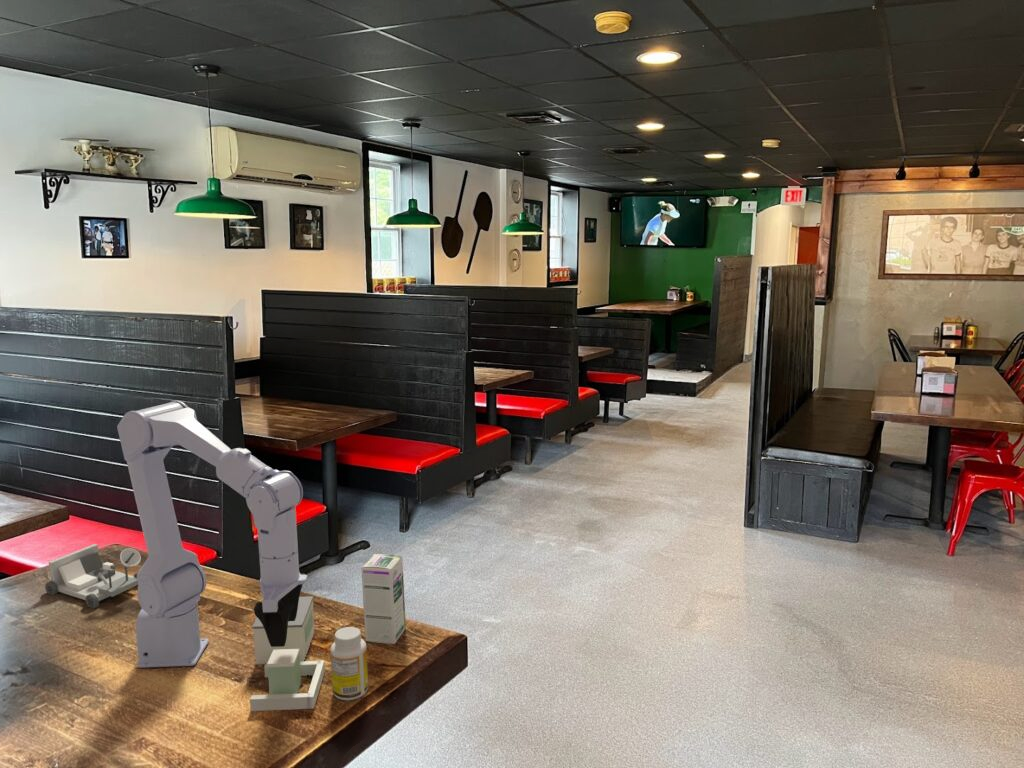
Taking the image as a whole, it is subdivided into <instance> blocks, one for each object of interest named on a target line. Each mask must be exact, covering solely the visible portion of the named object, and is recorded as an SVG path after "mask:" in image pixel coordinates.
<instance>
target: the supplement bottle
mask: <svg viewBox="0 0 1024 768" xmlns="http://www.w3.org/2000/svg"><path fill="white" fill-rule="evenodd" d="M361 635H362V633H361V630H360V629H359V628H357V627H354V626H346V627H342V628H339V629H338V630H336V632H335V633H334V642H333V643H331V645H330V666H331V685H332V686H331V687H332V693H333V695H334V697H335V698H337V699H339V700H342V701H354V700H357V699H360V698H361V697H363V696H364V695H365V694H366V693H367V691H368V688H369V676H368V675H369V673H368V672H369V671H368V656H367V655H368V653H367V652H368V651H367V643H366V640H364V639H363V638H362V636H361Z"/></svg>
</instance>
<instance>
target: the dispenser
mask: <svg viewBox="0 0 1024 768" xmlns="http://www.w3.org/2000/svg"><path fill="white" fill-rule="evenodd" d="M314 617H315V616H314V596H299V603H298V610H297V615H296V619H295V621H288V629H287V638H286V643H285V646H281V647H271V646H270V643H269V641H268V638H267V635H266V632H265V629H264V627H263V625H262V623H261V621H260V620H259V619H258V617H257V616H256V618H255V620H254V623H253V624H252V626H251V627H252V628H251V629H252V630H253V644H254V659H255V665H265V663H268V661H269V658H270V656H271V654H272V652H273V650H278V649H300V653H299V656H300V662H302V661H304V660H305V661H306V658H305V657H307V655H308V651H309V648H310V647H311V644H310V643H312V641H313V637H314V635H315V618H314ZM306 654H307V655H306Z"/></svg>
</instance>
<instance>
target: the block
mask: <svg viewBox="0 0 1024 768" xmlns="http://www.w3.org/2000/svg"><path fill="white" fill-rule="evenodd" d="M299 653H300V649H278V650H273V652H272V654H271V656H270V658H269V661H268V663H267V667H268V677H267V678H268V690H269V691H268V692H269V695H276V694H299V691H300V687H301V686H302V676H301V673H300V656H299Z"/></svg>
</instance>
